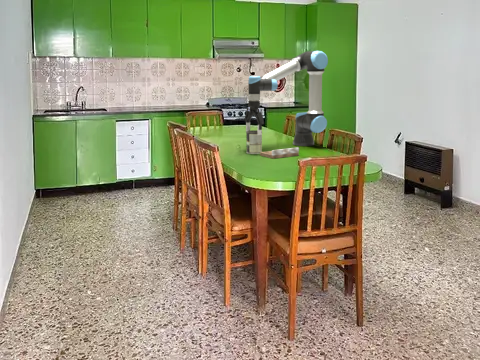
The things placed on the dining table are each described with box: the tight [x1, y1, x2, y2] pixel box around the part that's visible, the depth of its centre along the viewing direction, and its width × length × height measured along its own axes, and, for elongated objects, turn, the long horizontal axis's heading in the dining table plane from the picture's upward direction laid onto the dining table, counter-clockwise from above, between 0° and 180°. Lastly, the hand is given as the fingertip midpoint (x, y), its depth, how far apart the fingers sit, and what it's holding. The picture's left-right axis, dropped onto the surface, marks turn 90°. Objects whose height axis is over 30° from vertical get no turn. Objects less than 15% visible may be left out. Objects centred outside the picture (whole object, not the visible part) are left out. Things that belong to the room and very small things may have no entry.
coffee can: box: [245, 129, 263, 155], centre depth 327 cm, size 10×10×14 cm
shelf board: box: [259, 146, 300, 159], centre depth 318 cm, size 20×14×5 cm
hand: (253, 133), depth 326 cm, fingers open, 13 cm apart
